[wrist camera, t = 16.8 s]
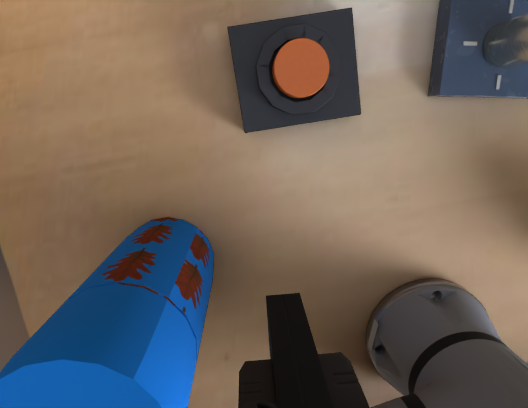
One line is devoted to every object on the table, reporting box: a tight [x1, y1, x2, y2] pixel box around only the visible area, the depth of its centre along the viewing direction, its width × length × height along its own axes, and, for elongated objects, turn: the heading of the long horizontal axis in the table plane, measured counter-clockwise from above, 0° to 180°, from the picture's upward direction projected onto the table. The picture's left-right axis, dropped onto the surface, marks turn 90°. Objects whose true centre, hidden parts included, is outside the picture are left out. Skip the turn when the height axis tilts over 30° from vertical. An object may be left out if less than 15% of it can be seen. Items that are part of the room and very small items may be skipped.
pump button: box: [272, 38, 330, 98], centre depth 34 cm, size 5×5×2 cm
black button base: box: [228, 8, 361, 133], centre depth 37 cm, size 12×10×5 cm
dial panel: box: [428, 0, 528, 99], centre depth 38 cm, size 12×10×3 cm
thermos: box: [0, 217, 214, 408], centre depth 31 cm, size 11×11×25 cm
